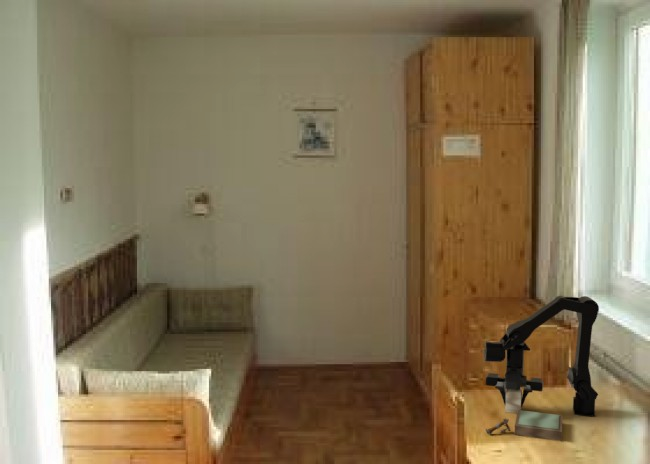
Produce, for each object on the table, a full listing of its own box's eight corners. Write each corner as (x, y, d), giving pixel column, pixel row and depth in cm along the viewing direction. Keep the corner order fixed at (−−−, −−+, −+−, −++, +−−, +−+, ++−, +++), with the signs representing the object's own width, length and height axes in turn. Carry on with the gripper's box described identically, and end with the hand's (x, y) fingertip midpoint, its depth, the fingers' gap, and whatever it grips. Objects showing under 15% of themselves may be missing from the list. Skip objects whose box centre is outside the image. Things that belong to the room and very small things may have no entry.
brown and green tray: (562, 424, 224) (562, 414, 223) (561, 441, 211) (561, 430, 210) (517, 418, 228) (518, 409, 228) (514, 434, 215) (514, 424, 215)
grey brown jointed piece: (514, 430, 217) (509, 418, 216) (492, 442, 215) (487, 430, 215) (511, 427, 219) (506, 416, 218) (490, 440, 217) (485, 428, 216)
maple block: (521, 408, 237) (522, 389, 236) (520, 413, 232) (521, 394, 232) (506, 406, 239) (507, 387, 238) (505, 412, 234) (505, 392, 233)
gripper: (484, 366, 229) (482, 411, 231) (542, 372, 223) (540, 418, 225) (488, 356, 240) (486, 399, 241) (543, 362, 233) (542, 406, 235)
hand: (513, 406), depth 235 cm, fingers closed on maple block, 5 cm apart
